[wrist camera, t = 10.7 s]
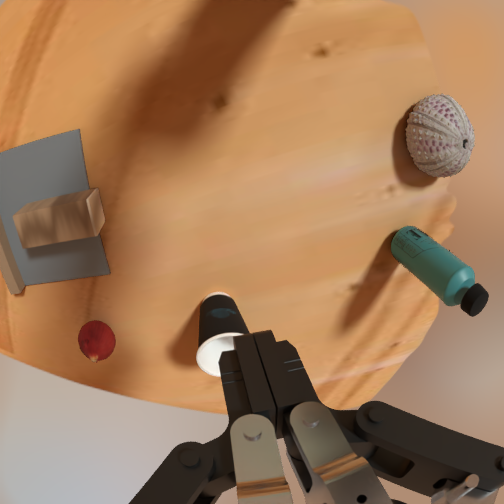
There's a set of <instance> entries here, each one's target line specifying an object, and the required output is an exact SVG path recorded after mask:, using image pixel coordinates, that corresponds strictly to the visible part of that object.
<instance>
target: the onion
mask: <svg viewBox="0 0 504 504" xmlns="http://www.w3.org/2000/svg"><path fill="white" fill-rule="evenodd" d="M78 342H79V346H80V349H81V351H82V352H83V354H84V355H85V356H86V357H87V358H89V359H91V361H93V362H96V363H97V361H100V360H104V359H106V358H107V357H109V356H110V355H111V354H112V352H113V350H114V347H115V342H116V340H115V335H114V333H113V332H112V330H111V328H110V327H109V326H108V325H107V324H105V323H103V322H101V321H97V320H94V321H90V322H88V323H86V324H85V325H84V326H83V327H82V328H81V330H80V333H79V335H78Z"/></svg>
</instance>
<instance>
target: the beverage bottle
mask: <svg viewBox="0 0 504 504" xmlns="http://www.w3.org/2000/svg"><path fill="white" fill-rule="evenodd" d="M434 240H435V239H434ZM434 240H433V239H432V237H431V238H430V237H428V235H427V234H426V233H424V232H422V230H421V231H420V230H419V228H418V229H417V228H416V227H415V226H414V227H413V226H406V227H403V228H402V229H400V230H399V231H398V232H397V233H396V235H395V236H394V238H393V240H392V243H391V252H392V254H393V256H394V258H396V260H397V261H398V262H400V263H401V264H402V266H403V265H404V266H405V268H406V269H408V271H409V272H411V273H413V275H415V276H416V277H417V278H418V279H419V280H420V281H422V282H423V283H424V284H425V285H426V286H427V287H428V288H429V289H431V290H432V291H433V292H434V293H435V294H436V295H437V296H438V297H439V298H440V299H441V300H442V301H443V302H444V303H445V304H446V305H447V306H455V305H459V304H461V309H462V310H463V311H465V312H466V313H467V314H469V315H470V316H472V317H473V316H476V315H477V314H479V313H480V312H481V311H482V309H483V308H484V307H485V305H486V303H487V301H488V297H489V295H488V292H487V291H486V290H485V289H484V288H483V287H482V286H481V285H480V284H478V283H477V284H475V275H474V271H473V269H472V268H471V267H470V266H468V265H466V264H465V263H464V262H462V261H461V260H460V259H459V258H457V257H456V256H454V255H453V254H452V253H451V252H450V250H449V251H448V250H447V249H445V248H444V247H442V246H441V245H440V244H438V243H437V242H436V241H434Z"/></svg>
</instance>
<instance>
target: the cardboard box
mask: <svg viewBox="0 0 504 504" xmlns="http://www.w3.org/2000/svg"><path fill="white" fill-rule="evenodd" d="M13 220H14V223H15V226H16V230H17V233H18V236H19V239H20V242H21V245H22V248H23V249H26V248H31V247H37V246H42V245H47V244H53V243H59V242H64V241H70V240H76V239H82V238H88V237H94V236H98V234H99V232H100V230H101V228H102V226H103V225H104V223H105V217H104V213H103V208H102V204H101V199H100V194H99V189H98V188H95V189H90V190H84V191H80V192H75V193H70V194H65V195H61V196H56V197H52V198H47V199H43V200H39V201H35V202H31V203H27V204H26V205H25V206H23V207H22V208H21V209H20V210H19V211H18V212H16V213H15V214H14V215H13Z"/></svg>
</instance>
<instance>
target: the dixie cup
mask: <svg viewBox="0 0 504 504" xmlns="http://www.w3.org/2000/svg"><path fill="white" fill-rule="evenodd" d="M244 334H250V333H249V331H248V329H247V326H246V324H245V322H244V320H243V318H242V316H241V314H240V312H239V310H238V308H237V306H236V303H235V302H234V300H233V299H232V298H231V297H230V296H229V295H228V294H226V293H223V292H214V293H211V294H209V295H207V296H206V297H205V298H204V299H203V301H202V304H201V307H200V321H199V345H198V351H197V354H196V361H197V364H198V366H199V367H200V368H201V369H202V370H203V371H204V372H206V373H208V374H210V375H213V376H218V377H221V375H220V369H219V364H218V362H219V359H220V356H221V353H222V352H223V351H229V350H234V344H233V336H238V335H244Z"/></svg>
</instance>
